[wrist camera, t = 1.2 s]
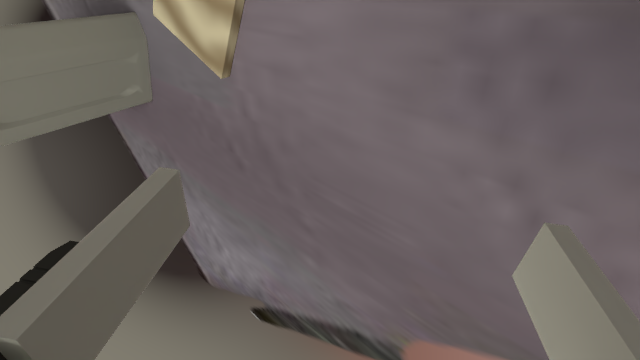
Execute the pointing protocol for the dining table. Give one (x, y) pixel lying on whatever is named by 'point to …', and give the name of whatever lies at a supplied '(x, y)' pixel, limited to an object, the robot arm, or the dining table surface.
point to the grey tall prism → (70, 72)
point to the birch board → (204, 28)
